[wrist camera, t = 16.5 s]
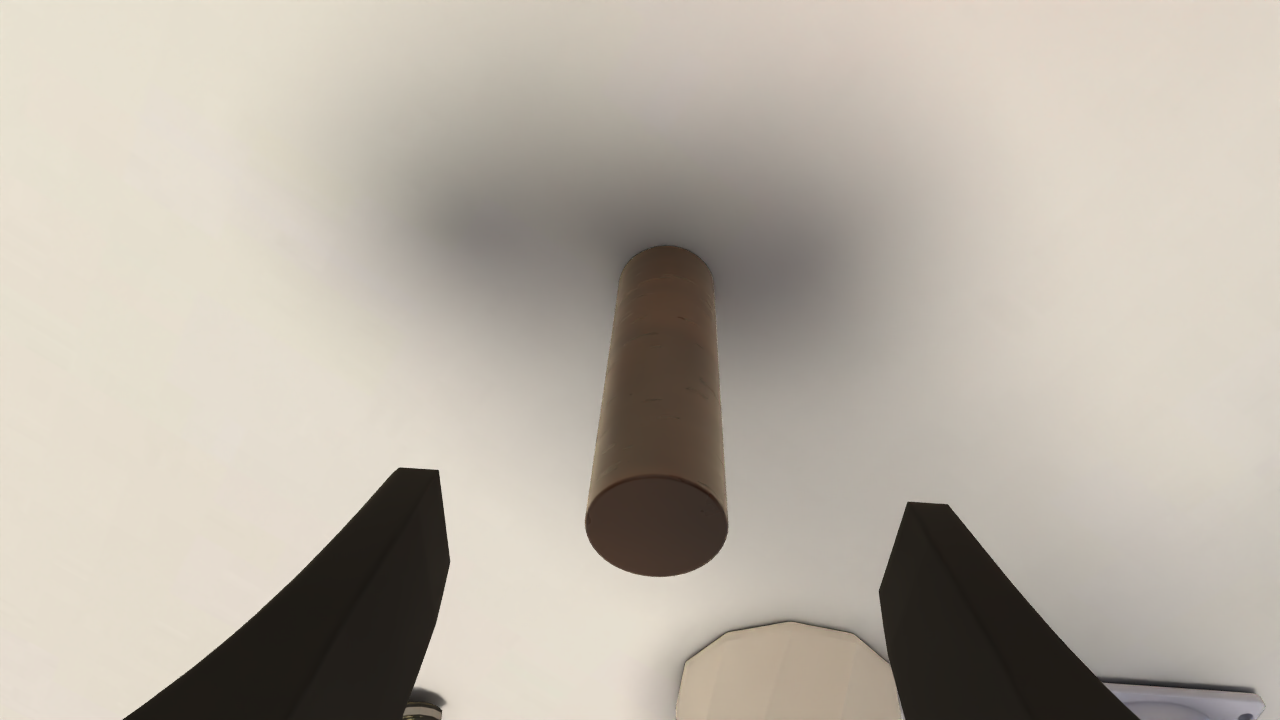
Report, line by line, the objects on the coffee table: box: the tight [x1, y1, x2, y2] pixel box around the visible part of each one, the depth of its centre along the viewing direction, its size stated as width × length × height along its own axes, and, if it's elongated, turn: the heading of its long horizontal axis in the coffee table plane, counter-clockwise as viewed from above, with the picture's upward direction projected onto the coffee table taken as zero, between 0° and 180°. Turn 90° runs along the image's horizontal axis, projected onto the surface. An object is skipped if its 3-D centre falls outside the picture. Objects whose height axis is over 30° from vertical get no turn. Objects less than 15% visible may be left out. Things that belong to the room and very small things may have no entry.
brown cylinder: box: [585, 246, 728, 577], centre depth 18 cm, size 3×3×9 cm
